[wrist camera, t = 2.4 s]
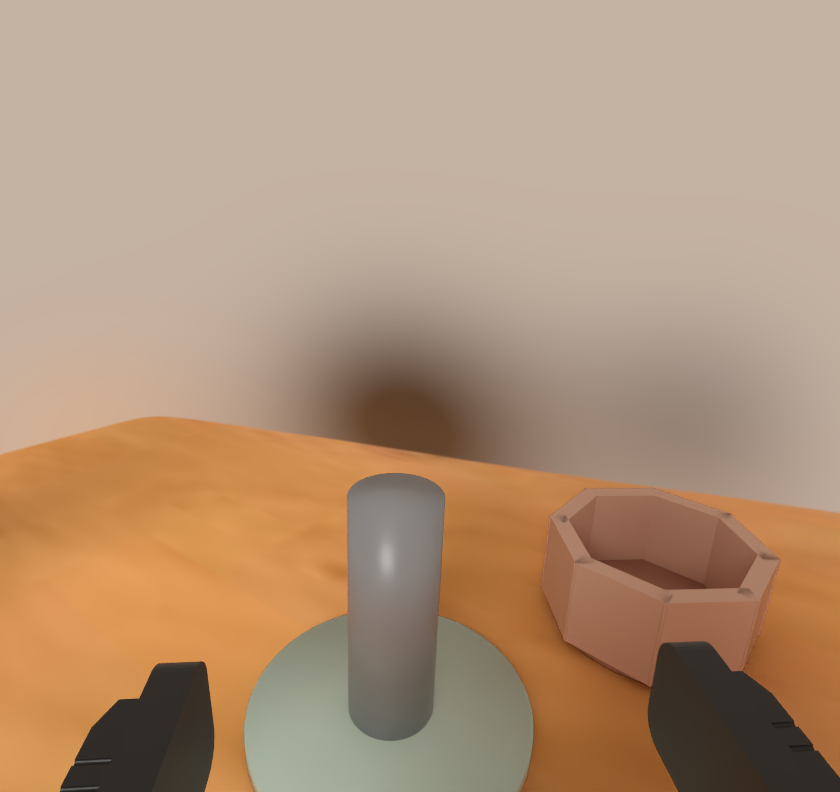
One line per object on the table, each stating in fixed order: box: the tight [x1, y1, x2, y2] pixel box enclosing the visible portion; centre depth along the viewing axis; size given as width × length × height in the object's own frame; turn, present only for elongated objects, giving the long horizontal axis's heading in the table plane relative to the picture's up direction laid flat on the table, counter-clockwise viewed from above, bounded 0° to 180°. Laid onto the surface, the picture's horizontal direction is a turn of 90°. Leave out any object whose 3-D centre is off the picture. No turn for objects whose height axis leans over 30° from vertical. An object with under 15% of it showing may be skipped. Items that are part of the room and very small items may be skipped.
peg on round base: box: [244, 473, 534, 792], centre depth 24 cm, size 12×12×11 cm
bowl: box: [541, 488, 781, 687], centre depth 31 cm, size 10×10×5 cm
